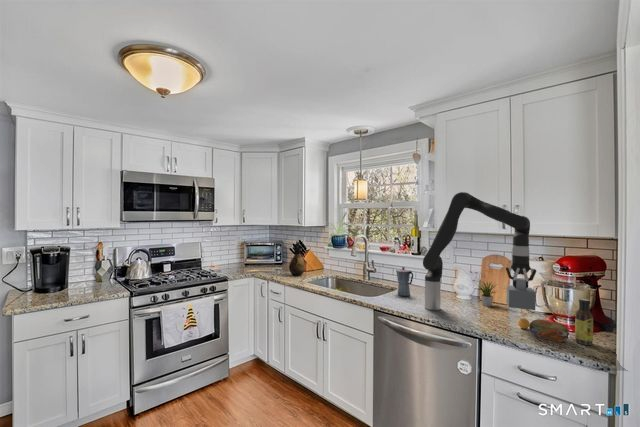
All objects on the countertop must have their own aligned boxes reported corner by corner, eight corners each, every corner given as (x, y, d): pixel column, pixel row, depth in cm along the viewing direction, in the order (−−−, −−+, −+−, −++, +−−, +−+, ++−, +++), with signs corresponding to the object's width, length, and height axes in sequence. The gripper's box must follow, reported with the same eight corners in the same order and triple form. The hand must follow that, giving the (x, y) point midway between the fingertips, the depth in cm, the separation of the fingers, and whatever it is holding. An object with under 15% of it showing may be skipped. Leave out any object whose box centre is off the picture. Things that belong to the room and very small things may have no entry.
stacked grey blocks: (508, 307, 160) (509, 279, 160) (506, 301, 170) (506, 276, 170) (535, 310, 155) (535, 282, 155) (531, 304, 165) (531, 278, 165)
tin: (529, 335, 153) (529, 317, 153) (530, 333, 155) (530, 316, 155) (568, 344, 142) (568, 325, 142) (569, 342, 144) (569, 324, 144)
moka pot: (399, 292, 237) (399, 265, 237) (417, 296, 225) (417, 268, 225) (391, 294, 231) (391, 266, 231) (409, 298, 219) (410, 269, 219)
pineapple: (308, 276, 294) (308, 244, 295) (293, 277, 286) (293, 244, 286) (299, 273, 309) (300, 242, 309) (285, 274, 301) (285, 243, 301)
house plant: (498, 303, 209) (498, 278, 209) (504, 309, 195) (504, 282, 195) (474, 301, 213) (475, 277, 213) (478, 307, 199) (479, 281, 200)
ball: (523, 330, 163) (514, 323, 165) (528, 323, 164) (519, 316, 166) (528, 330, 159) (519, 323, 160) (533, 323, 160) (524, 315, 161)
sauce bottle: (590, 347, 139) (590, 302, 139) (573, 342, 144) (573, 299, 144) (594, 344, 143) (595, 300, 143) (577, 339, 148) (577, 297, 148)
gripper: (505, 254, 162) (505, 287, 162) (538, 256, 156) (538, 291, 156) (504, 253, 169) (503, 285, 169) (535, 254, 163) (535, 288, 163)
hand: (520, 287), depth 163 cm, fingers closed on stacked grey blocks, 4 cm apart
